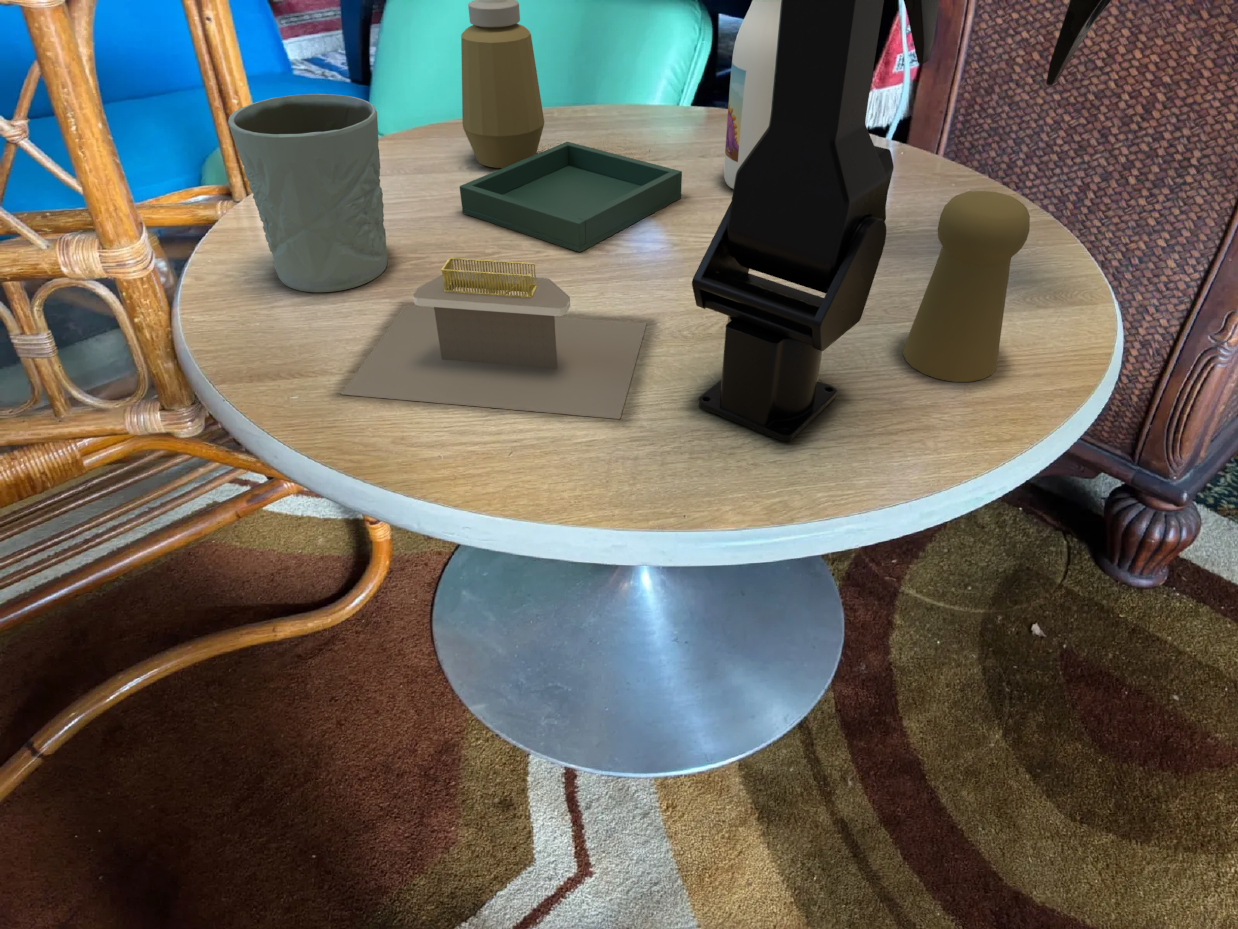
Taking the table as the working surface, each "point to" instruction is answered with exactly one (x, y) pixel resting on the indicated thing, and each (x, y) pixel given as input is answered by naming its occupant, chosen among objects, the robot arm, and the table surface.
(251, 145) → the embossed green cup
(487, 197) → the serving tray
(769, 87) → the milk bottle
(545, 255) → the table surface
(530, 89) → the squeeze bottle
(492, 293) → the platform
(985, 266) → the brown game pawn
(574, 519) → the table surface
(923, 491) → the table surface
